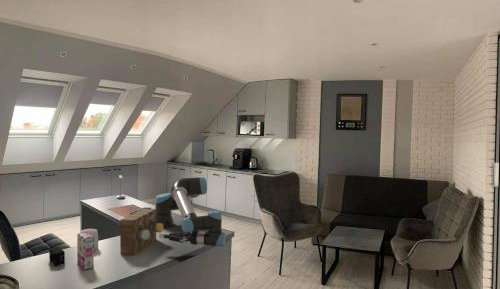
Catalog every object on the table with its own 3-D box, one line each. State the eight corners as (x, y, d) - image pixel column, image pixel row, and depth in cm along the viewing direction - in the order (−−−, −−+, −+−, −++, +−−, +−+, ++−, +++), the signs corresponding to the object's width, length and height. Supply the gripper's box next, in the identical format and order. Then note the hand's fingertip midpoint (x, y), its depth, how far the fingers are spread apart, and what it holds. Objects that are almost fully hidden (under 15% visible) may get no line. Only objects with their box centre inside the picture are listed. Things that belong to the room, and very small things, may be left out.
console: (145, 238, 208) (144, 208, 208) (158, 239, 206) (158, 209, 206) (120, 254, 181) (120, 219, 180) (135, 255, 179) (135, 220, 178)
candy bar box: (94, 267, 162) (94, 236, 162) (83, 270, 159) (83, 238, 158) (87, 261, 170) (86, 231, 170) (76, 264, 167) (76, 233, 166)
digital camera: (46, 261, 170) (46, 248, 170) (58, 258, 174) (58, 246, 174) (53, 267, 163) (52, 254, 163) (64, 264, 167) (64, 251, 167)
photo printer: (78, 251, 184) (78, 230, 184) (80, 249, 189) (80, 228, 188) (97, 250, 187) (97, 229, 186) (99, 247, 191) (98, 227, 191)
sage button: (145, 237, 188) (145, 228, 188) (149, 237, 188) (149, 228, 188) (140, 240, 183) (140, 231, 183) (145, 241, 182) (145, 231, 182)
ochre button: (159, 230, 202) (159, 222, 202) (163, 231, 201) (163, 222, 201) (155, 233, 196) (154, 224, 196) (159, 233, 196) (159, 224, 195)
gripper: (194, 248, 174) (154, 245, 178) (202, 240, 187) (164, 238, 191) (194, 234, 174) (154, 232, 178) (202, 228, 186) (164, 225, 191)
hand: (159, 235), depth 184 cm, fingers closed
